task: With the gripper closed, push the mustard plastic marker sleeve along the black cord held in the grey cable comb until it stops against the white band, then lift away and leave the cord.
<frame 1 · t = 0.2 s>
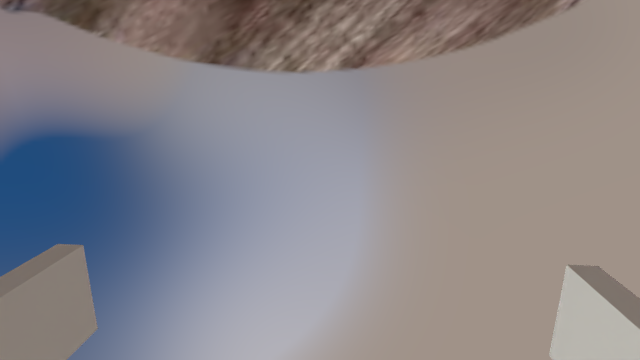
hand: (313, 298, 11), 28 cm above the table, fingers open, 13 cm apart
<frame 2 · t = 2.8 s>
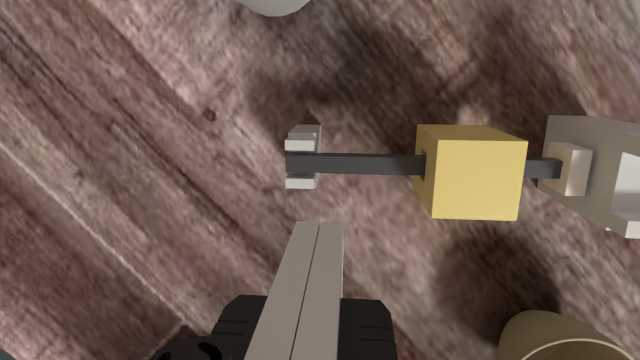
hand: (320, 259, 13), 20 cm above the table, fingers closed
cord rig: (435, 150, 32), on the table
flower pot: (529, 332, 36), on the table
sleeve: (460, 166, 26), point 6 cm above the table, slide at 0.0 cm
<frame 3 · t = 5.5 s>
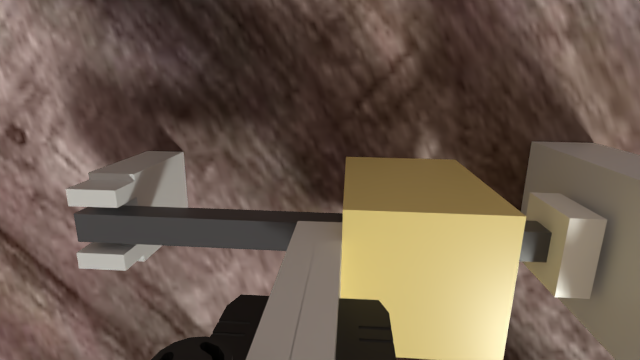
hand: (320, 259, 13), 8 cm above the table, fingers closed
cord rig: (358, 193, 21), on the table
sleeve: (407, 238, 15), point 6 cm above the table, slide at 1.3 cm, touching gripper
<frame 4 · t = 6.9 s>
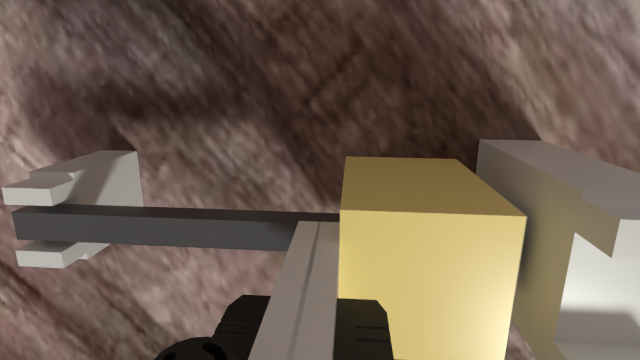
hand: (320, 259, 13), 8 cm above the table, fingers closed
cord rig: (310, 191, 21), on the table
sleeve: (407, 238, 15), point 6 cm above the table, slide at 3.9 cm, touching cord rig, gripper
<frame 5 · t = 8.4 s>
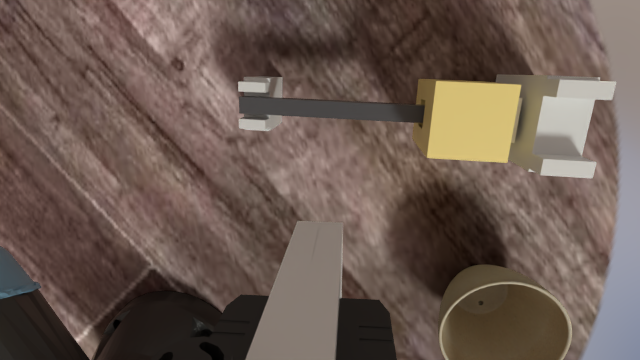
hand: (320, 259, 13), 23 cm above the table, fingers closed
cord rig: (389, 105, 33), on the table
flower pot: (477, 287, 37), on the table
sleeve: (457, 115, 27), point 6 cm above the table, slide at 3.9 cm, touching cord rig
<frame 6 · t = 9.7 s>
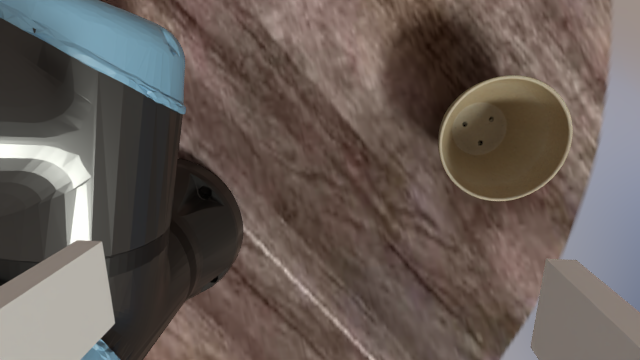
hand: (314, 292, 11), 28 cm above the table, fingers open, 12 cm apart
flower pot: (476, 128, 37), on the table
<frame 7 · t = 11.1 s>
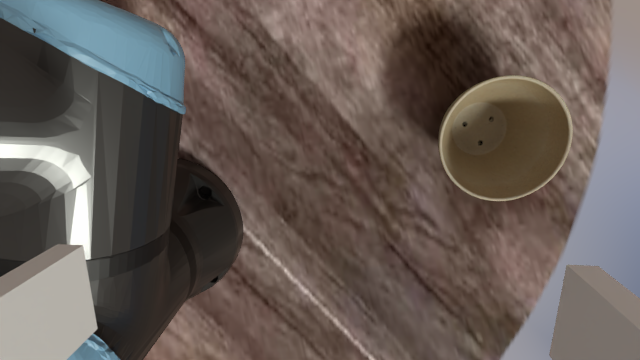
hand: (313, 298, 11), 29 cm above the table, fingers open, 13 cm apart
flower pot: (476, 128, 37), on the table
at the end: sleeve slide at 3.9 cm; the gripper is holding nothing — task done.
